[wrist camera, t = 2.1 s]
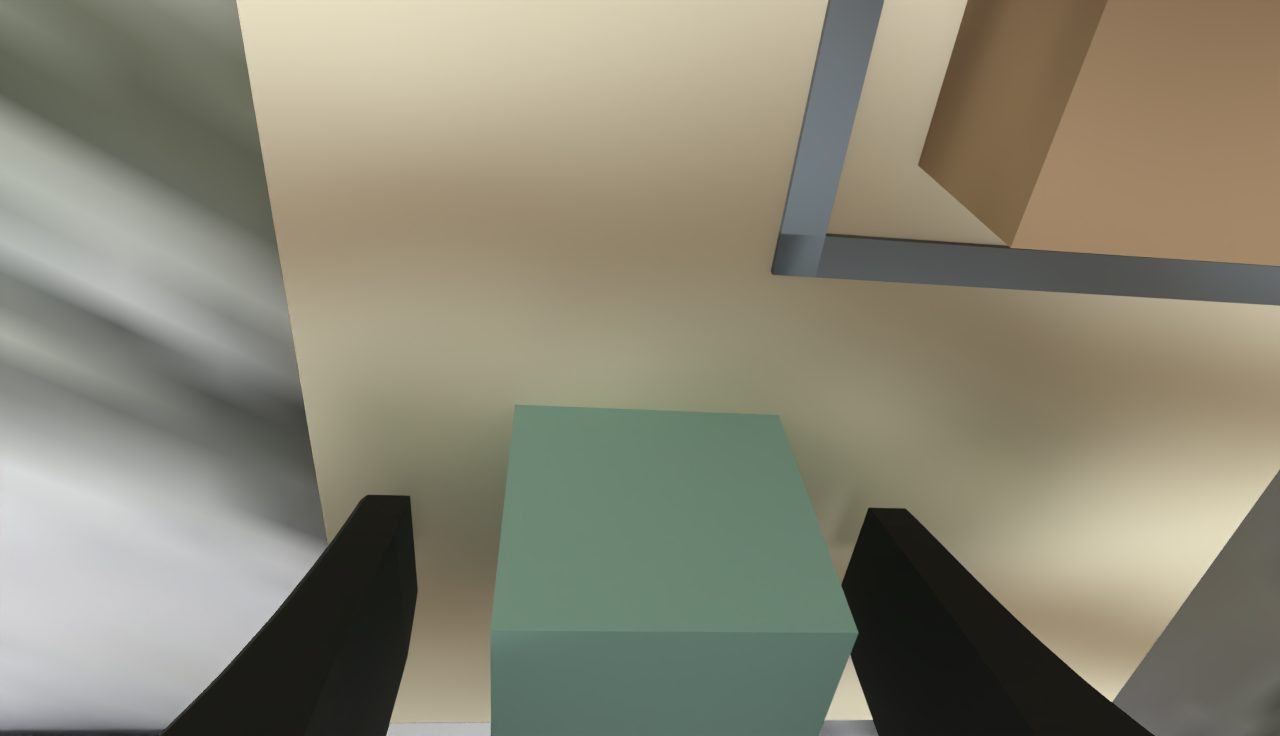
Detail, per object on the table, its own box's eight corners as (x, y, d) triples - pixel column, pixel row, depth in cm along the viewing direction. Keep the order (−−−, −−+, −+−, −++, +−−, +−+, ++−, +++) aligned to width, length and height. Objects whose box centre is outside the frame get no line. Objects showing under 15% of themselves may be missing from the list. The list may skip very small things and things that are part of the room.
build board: (1087, 697, 18) (1103, 722, 17) (363, 700, 16) (356, 728, 15) (2035, -678, 7) (2152, -719, 6) (70, -1175, 5) (14, -1288, 4)
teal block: (734, 591, 14) (785, 820, 11) (512, 589, 14) (491, 827, 10) (778, 414, 12) (857, 633, 8) (514, 404, 11) (490, 629, 8)
